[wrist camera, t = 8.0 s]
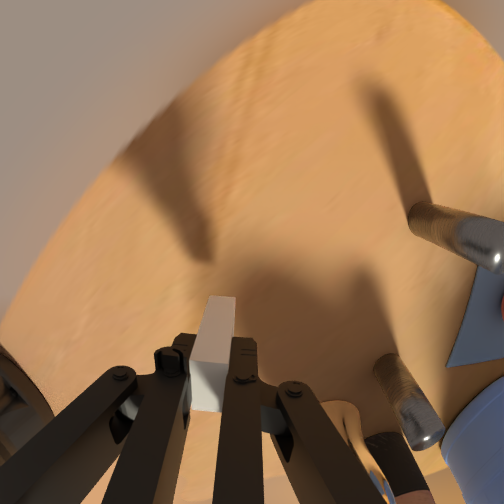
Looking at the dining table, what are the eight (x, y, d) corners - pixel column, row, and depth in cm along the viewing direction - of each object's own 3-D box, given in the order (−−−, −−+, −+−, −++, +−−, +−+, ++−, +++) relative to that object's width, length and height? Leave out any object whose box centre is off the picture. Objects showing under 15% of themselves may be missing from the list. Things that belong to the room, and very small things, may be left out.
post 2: (405, 234, 20) (481, 273, 11) (410, 199, 19) (492, 220, 10) (433, 238, 20) (511, 275, 11) (438, 204, 19) (521, 226, 10)
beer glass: (325, 450, 26) (347, 572, 11) (276, 428, 25) (281, 571, 10) (377, 412, 24) (426, 538, 10) (330, 384, 23) (372, 541, 9)
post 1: (370, 378, 23) (405, 454, 14) (378, 354, 22) (420, 428, 14) (395, 376, 23) (435, 447, 14) (404, 352, 22) (451, 421, 14)
